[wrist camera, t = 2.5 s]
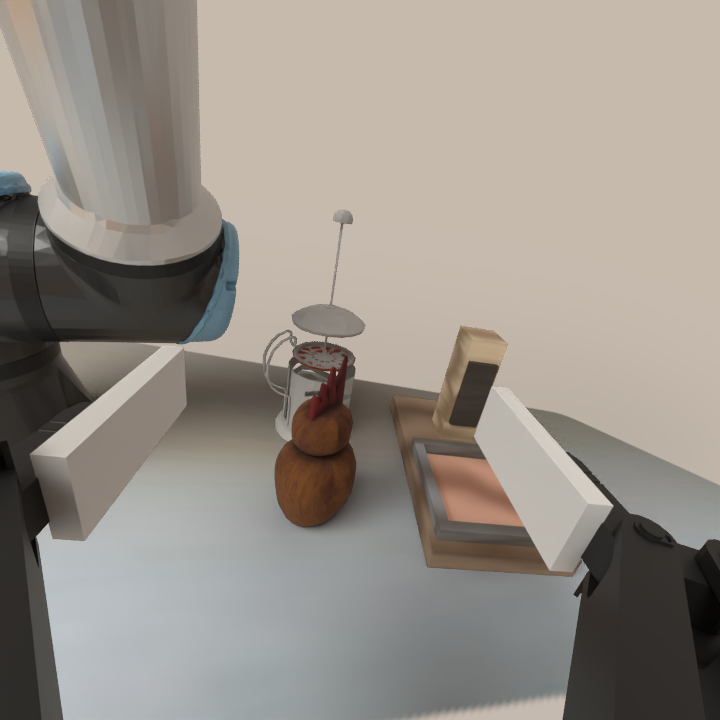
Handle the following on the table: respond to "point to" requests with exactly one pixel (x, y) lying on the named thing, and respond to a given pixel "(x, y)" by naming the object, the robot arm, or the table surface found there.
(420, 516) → the wooden tray stand
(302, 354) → the french press
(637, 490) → the table surface
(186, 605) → the table surface
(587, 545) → the robot arm
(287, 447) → the wooden figurine
